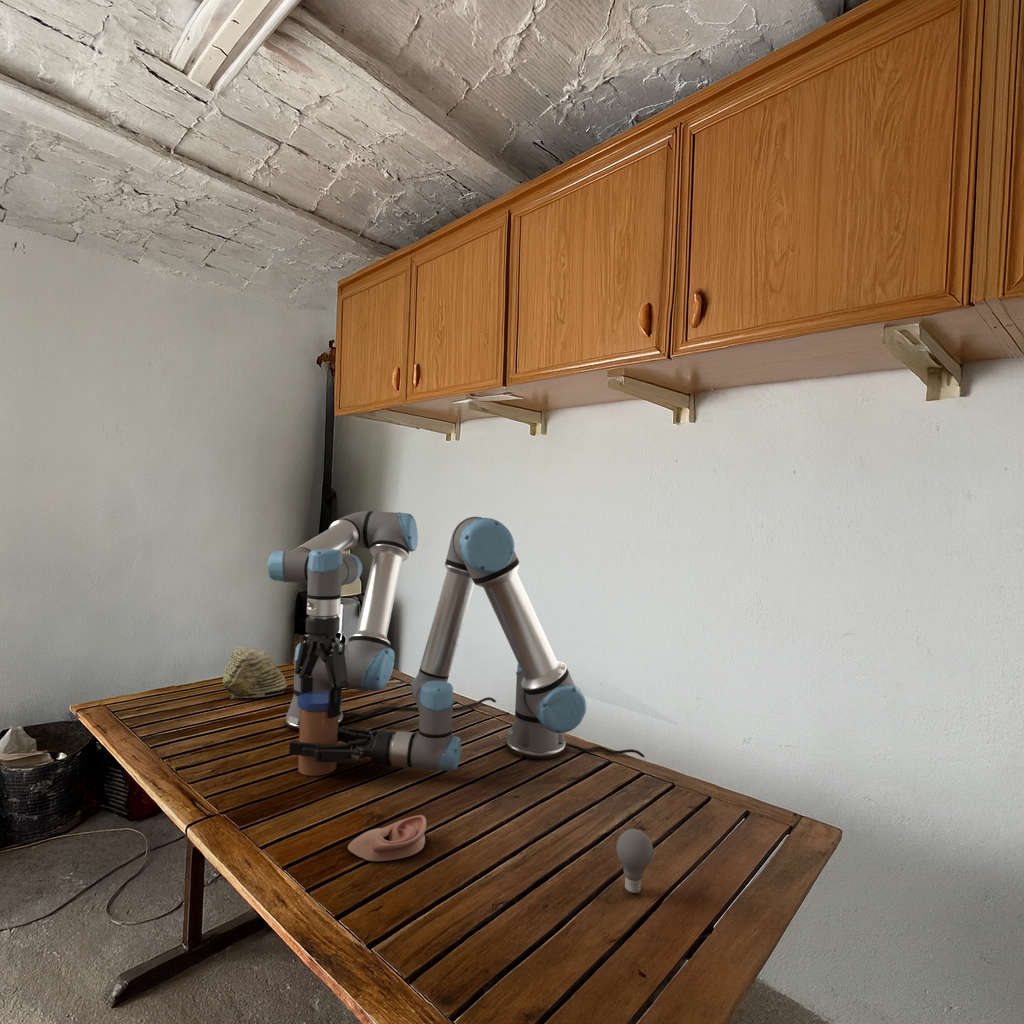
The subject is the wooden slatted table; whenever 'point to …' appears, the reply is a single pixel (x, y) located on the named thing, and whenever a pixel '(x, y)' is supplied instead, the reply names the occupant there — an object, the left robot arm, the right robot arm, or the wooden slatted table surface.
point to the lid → (314, 700)
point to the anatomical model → (391, 840)
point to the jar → (317, 740)
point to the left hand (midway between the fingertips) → (319, 711)
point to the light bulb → (634, 857)
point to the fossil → (252, 674)
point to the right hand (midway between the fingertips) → (299, 740)
